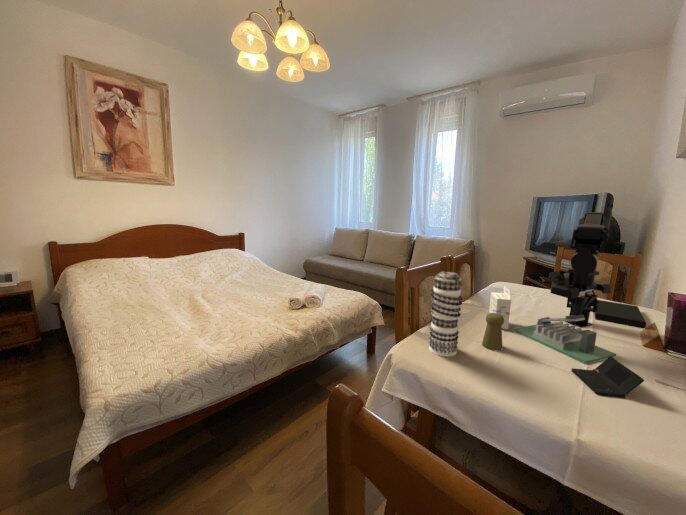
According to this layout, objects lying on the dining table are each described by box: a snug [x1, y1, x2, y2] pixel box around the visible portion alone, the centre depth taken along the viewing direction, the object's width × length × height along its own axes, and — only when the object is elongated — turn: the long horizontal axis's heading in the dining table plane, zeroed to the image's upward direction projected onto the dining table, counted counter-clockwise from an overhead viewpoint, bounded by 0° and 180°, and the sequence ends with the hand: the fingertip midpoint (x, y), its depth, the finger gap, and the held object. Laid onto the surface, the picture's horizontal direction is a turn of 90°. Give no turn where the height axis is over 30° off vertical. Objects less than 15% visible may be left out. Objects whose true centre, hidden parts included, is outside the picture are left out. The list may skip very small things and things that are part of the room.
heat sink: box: [533, 321, 598, 353], centre depth 96 cm, size 12×16×6 cm
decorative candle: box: [428, 271, 463, 358], centre depth 89 cm, size 9×9×25 cm
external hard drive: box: [593, 299, 647, 330], centre depth 121 cm, size 14×23×3 cm, turn 140°
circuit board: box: [512, 324, 617, 365], centre depth 97 cm, size 14×24×1 cm, turn 19°
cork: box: [481, 313, 504, 351], centre depth 93 cm, size 6×6×11 cm
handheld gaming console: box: [571, 357, 645, 399], centre depth 74 cm, size 12×7×10 cm
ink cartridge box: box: [488, 285, 512, 330], centre depth 110 cm, size 9×5×15 cm, turn 168°
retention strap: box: [537, 315, 585, 322], centre depth 97 cm, size 4×12×2 cm, turn 19°
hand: (576, 315), depth 92 cm, fingers closed, pressing on retention strap
